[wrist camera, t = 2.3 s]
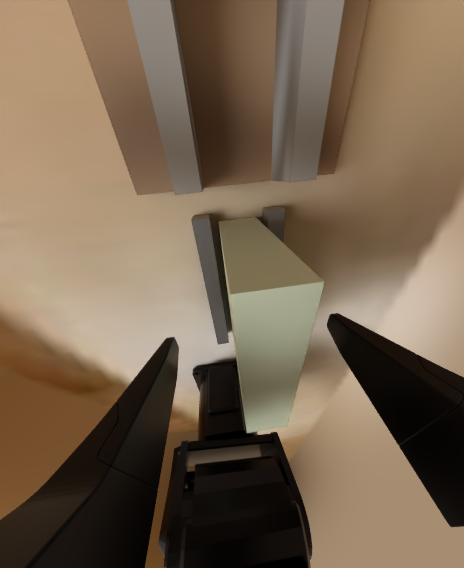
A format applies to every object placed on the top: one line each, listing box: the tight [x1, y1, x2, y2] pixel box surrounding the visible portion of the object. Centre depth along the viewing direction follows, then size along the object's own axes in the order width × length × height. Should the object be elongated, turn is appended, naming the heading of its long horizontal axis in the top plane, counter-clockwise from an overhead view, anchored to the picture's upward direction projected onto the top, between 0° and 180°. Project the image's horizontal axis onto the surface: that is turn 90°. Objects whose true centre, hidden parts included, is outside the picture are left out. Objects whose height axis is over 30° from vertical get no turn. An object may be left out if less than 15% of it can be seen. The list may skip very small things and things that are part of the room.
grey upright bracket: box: [191, 206, 286, 344], centre depth 13 cm, size 11×5×1 cm, turn 5°
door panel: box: [218, 217, 324, 433], centre depth 10 cm, size 10×2×8 cm, turn 5°
